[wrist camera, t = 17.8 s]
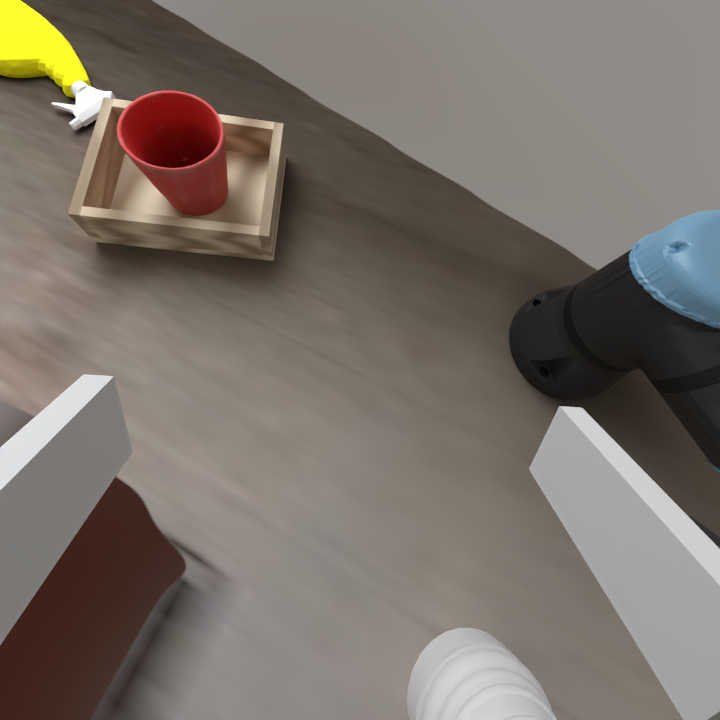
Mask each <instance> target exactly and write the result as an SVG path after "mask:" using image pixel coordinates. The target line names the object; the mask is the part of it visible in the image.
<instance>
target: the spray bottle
mask: <svg viewBox="0 0 720 720" xmlns="http://www.w3.org/2000/svg"><path fill="white" fill-rule="evenodd" d="M0 75H3V76H6V77H13V78H30V77H40V76H49V77H50V78H51V79H53V80H55V83H56V84H57V85H58V86H60V87H62V88H63V92H64V93H65V94H66V96H68V97H71V98H76V104H75V105H70V104H63V103H54V102H52V105H53V107H56V108H59V109H62V110H65V111H68V112H71V113H73V114H74V115H75V117H76V118H75V119H73V120H72V121H71V122H70V123H69V125H70V126H71V127H72V128H73V129H74V130H75V131H76V130H77V129H79V128H81V127H82V126H87V125H88V124H90V123H91V122H93V121H95V120H96V119H97V117H98V114H99V111H100V108H101V105H102V101H103V98H104V97H106V98H112V99H115V97H114V95H113V93H112V92H111V91H101V90H97V89H95V88H93V87H91V83H90V81H89V78H88V76H87V74H86V71H85V69H84V67H83V65H82V64H81V62H80V60H79V58H78V56H77V55H76V53H75V52H74V50H73V48H72V47H71V45H70V43H69V42H68V41H67V40H66V39H65V38H64V36H63V35H62V34H61V33H60V32H59V31H58V30H57V29H56V28H55V27H54V26H52V25H51V24H50V23H49V22H48V21H47V20H46V19H45V18H44V17H43V16H41V15H40V14H39V13H38V12H36V11H35V10H33V9H32V8H30V7H29V6H28V5H26V4H25V3H23V2H22V1H20V0H0Z"/></svg>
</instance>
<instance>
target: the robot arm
mask: <svg viewBox="0 0 720 720" xmlns="http://www.w3.org/2000/svg"><path fill="white" fill-rule="evenodd" d="M509 338H510V348H511V352H512V355H513V358H514V360H515V363H516V365H517V366H518V368H519V370H520V371H521V373H522V374H523V375H524V377H525V378H526V379H527V380H528V381H529V382H530V383H531V384H532V385H533V386H535V387H536V388H537V389H539V390H540V391H542V392H544V393H546V394H548V395H550V396H553V397H556V398H559V399H566V400H576V399H581V398H586V397H590V396H594V395H597V394H599V393H601V392H603V391H605V390H606V389H608V388H609V387H610V386H612V385H613V384H614V383H615V382H617V381H618V380H619V379H621V378H622V377H623V376H625V375H626V374H627V373H628V372H630V371H632V370H635V369H639V368H641V370H642V371H643V372H644V374H645V375H646V376H647V378H648V379H649V380H650V381H651V383H652V384H653V385H654V386H655V388H656V389H657V391H658V392H659V393H660V395H661V396H662V397H663V399H664V400H665V401H666V403H667V404H668V406H669V407H670V408H671V410H672V411H673V412H674V414H675V415H676V416H677V418H678V419H679V420H680V422H681V423H682V424H683V426H684V427H685V428H686V430H687V431H688V433H689V434H690V435H691V437H692V438H693V439H694V441H695V442H696V443H697V445H698V446H699V447H700V449H701V450H702V451H703V453H704V455H705V457H706V459H707V460H708V462H709V463H711V465H712V467H713V468H714V469H715V470H716V471H717V472H719V473H720V210H709V211H703V212H697V213H693V214H690V215H687V216H684V217H682V218H680V219H679V220H676V221H675V222H673V223H671V224H670V225H668V226H666V227H664V228H663V229H661V230H660V231H658V232H655V233H652V234H650V235H647V236H646V237H644V238H642V239H641V240H640V241H638V242H637V243H636V244H635V245H634V247H633V248H632V249H631V250H629V251H628V252H626V253H625V254H623V255H622V256H620V257H618V258H617V259H615V260H614V261H612V262H611V263H609V264H608V265H606V266H605V267H603V268H601V269H600V270H598V271H597V272H595V273H593V274H592V275H590V276H589V277H587V278H586V279H584V280H583V281H581V282H580V283H578V284H576V285H571V286H567V287H562V288H557V289H553V290H549V291H545V292H543V293H541V294H539V295H537V296H535V297H534V298H532V299H531V300H529V301H528V302H527V303H525V304H524V305H523V306H522V307H521V308H520V309H519V310H518V311H517V313H516V314H515V316H514V318H513V321H512V323H511V327H510V336H509ZM131 453H132V448H131V444H130V440H129V436H128V432H127V428H126V424H125V420H124V415H123V411H122V407H121V403H120V399H119V395H118V391H117V387H116V383H115V379H114V376H100V375H85V374H84V375H82V376H81V377H80V378H79V379H78V380H77V381H76V382H74V383H73V384H72V385H71V386H70V387H69V388H68V389H66V390H65V391H64V392H63V393H62V394H61V395H60V396H58V397H57V398H56V399H55V400H54V401H53V402H52V403H51V404H49V405H48V406H47V407H46V408H45V409H44V410H43V411H41V412H40V413H39V414H38V415H37V416H36V417H35V418H33V419H32V420H31V421H30V422H29V423H28V424H27V425H25V426H24V427H23V428H22V429H21V430H20V431H19V432H17V433H16V434H15V435H14V436H13V437H12V438H11V439H9V440H8V441H7V442H6V443H5V444H4V445H3V446H1V447H0V645H1V643H2V642H3V640H4V639H5V637H6V636H7V634H8V633H9V631H10V630H11V629H12V627H13V626H14V624H15V623H16V621H17V620H18V618H19V617H20V615H21V614H22V612H23V611H24V610H25V608H26V606H27V605H28V604H29V602H30V601H31V599H32V598H33V596H34V595H35V593H36V592H37V590H38V589H39V588H40V586H41V585H42V583H43V582H44V580H45V579H46V577H47V576H48V574H49V573H50V571H51V570H52V568H53V567H54V566H55V564H56V563H57V561H58V560H59V558H60V557H61V555H62V554H63V552H64V551H65V549H66V548H67V546H68V545H69V544H70V542H71V541H72V539H73V538H74V536H75V535H76V533H77V532H78V530H79V529H80V527H81V526H82V524H83V523H84V522H85V520H86V518H87V517H88V516H89V514H90V513H91V511H92V509H93V508H94V507H95V505H96V504H97V503H98V501H99V499H100V498H101V497H102V495H103V494H104V492H105V491H106V489H107V488H108V486H109V485H110V483H111V482H112V480H113V479H114V478H115V476H116V475H117V473H118V472H119V470H120V469H121V467H122V466H123V464H124V463H125V461H126V460H127V459H128V457H129V456H130V454H131ZM529 470H530V472H531V473H532V475H533V477H534V478H535V480H536V481H537V483H538V485H539V486H540V488H541V490H542V491H543V493H544V494H545V496H546V498H547V499H548V501H549V503H550V504H551V506H552V507H553V509H554V511H555V512H556V514H557V516H558V517H559V519H560V520H561V522H562V524H563V525H564V527H565V529H566V530H567V532H568V533H569V535H570V537H571V538H572V540H573V541H574V543H575V545H576V546H577V548H578V550H579V551H580V553H581V554H582V556H583V558H584V559H585V561H586V563H587V564H588V566H589V567H590V569H591V571H592V572H593V574H594V576H595V577H596V579H597V580H598V582H599V584H600V585H601V587H602V589H603V590H604V592H605V593H606V595H607V597H608V598H609V600H610V601H611V603H612V605H613V606H614V608H615V610H616V611H617V613H618V614H619V616H620V618H621V619H622V621H623V623H624V624H625V626H626V627H627V629H628V631H629V632H630V634H631V636H632V637H633V639H634V640H635V642H636V644H637V645H638V647H639V649H640V650H641V652H642V653H643V655H644V657H645V658H646V660H647V662H648V663H649V665H650V666H651V668H652V670H653V671H654V673H655V674H656V676H657V678H658V679H659V681H660V683H661V684H662V686H663V687H664V689H665V691H666V692H667V694H668V696H669V697H670V699H671V700H672V702H673V704H674V705H675V707H676V709H677V710H678V712H679V713H680V715H681V717H682V718H683V720H720V538H719V537H718V536H717V535H716V534H715V533H713V532H712V531H710V530H709V529H708V528H706V527H705V526H704V525H702V524H701V523H699V522H698V521H697V520H695V519H694V518H693V517H691V516H687V515H686V514H685V513H684V512H683V511H682V510H681V509H680V508H679V507H678V505H677V504H676V503H675V502H674V501H673V500H672V499H671V498H670V497H669V496H668V495H667V494H666V493H665V492H664V491H663V490H662V489H661V488H660V487H659V486H658V485H657V484H656V483H655V482H654V481H653V480H652V479H651V478H650V477H649V476H648V475H647V474H646V473H645V472H644V471H643V470H642V469H641V468H640V467H639V466H638V464H637V463H636V462H635V461H634V460H633V459H632V458H631V457H630V456H629V455H628V454H627V453H626V452H625V451H624V450H623V449H622V448H621V447H620V446H619V445H618V444H617V443H616V442H615V441H614V440H613V439H612V438H611V437H610V436H609V435H608V434H607V433H606V432H605V431H604V430H603V429H602V428H601V427H600V426H599V425H598V424H597V422H596V421H595V420H594V419H593V418H592V417H591V416H590V415H589V414H588V413H587V412H586V411H585V410H584V409H583V408H581V407H566V406H559V408H558V410H557V412H556V414H555V416H554V418H553V420H552V423H551V425H550V427H549V429H548V431H547V433H546V435H545V437H544V439H543V441H542V443H541V445H540V447H539V449H538V452H537V454H536V456H535V458H534V460H533V462H532V464H531V466H530V468H529Z"/></svg>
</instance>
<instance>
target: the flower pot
mask: <svg viewBox="0 0 720 720" xmlns="http://www.w3.org/2000/svg"><path fill="white" fill-rule="evenodd" d="M117 137H118V140H119V143H120V145H121V147H122V149H123V150H124V151H125V153H126V154H127V155H128V156H129V158H130V159H131V160H132V161H133V162H134V164H135V165H136V166H137V167H138V168H139V169H140V170H141V172H142V173H143V174H144V175H145V176H146V177H147V178H148V179H149V181H150V182H151V183H152V184H153V185H154V186H155V187H156V188H157V190H158V191H159V192H160V193H161V194H162V195H163V196H164V197H165V198H166V199H167V200H168V201H169V202H170V203H171V204H172V205H173V206H174V207H175V208H176V209H177V210H179V211H181V212H183V213H185V214H188V215H206V214H210V213H212V212H214V211H216V210H217V209H219V208H220V207H221V206H222V205H223V204H224V202H225V200H226V198H227V195H228V176H227V159H226V146H225V134H224V127H223V124H222V121H221V119H220V117H219V115H218V114H217V113H216V111H215V110H214V109H213V108H212V107H211V106H210V105H209V104H208V103H206V102H205V101H204V100H202V99H200V98H198V97H196V96H194V95H191V94H188V93H184V92H179V91H158V92H153V93H149V94H146V95H144V96H142V97H139V98H138V99H136V100H134V101H133V102H132V103H130V104H129V105H128V106H127V107H126V108H125V109H124V111H123V112H122V114H121V115H120V117H119V120H118V124H117Z"/></svg>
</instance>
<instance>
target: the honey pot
mask: <svg viewBox="0 0 720 720" xmlns="http://www.w3.org/2000/svg"><path fill="white" fill-rule="evenodd" d="M407 710H408V716H409V720H557V719H556V717H555V715H554V714H553V712H552V709H551V705H550V703H549V701H548V699H547V697H546V695H545V693H544V691H543V689H542V687H541V685H540V684H539V682H538V681H537V680H536V678H535V677H534V676H533V675H532V674H531V672H530V671H529V670H528V669H527V667H525V666H524V665H523V664H522V663H521V662H520V661H519V660H518V659H517V658H516V657H515V656H514V655H513V654H512V653H511V652H510V651H509V650H508V649H507V648H506V647H505V646H504V645H503V644H502V643H501V642H499V641H498V640H497V639H495V638H494V637H493V636H491V635H490V634H488V633H486V632H483V631H480V630H477V629H475V628H457V629H454V630H450V631H447V632H444V633H443V634H441V635H440V636H438V637H437V638H435V639H434V640H432V641H431V642H430V644H429V645H428V646H427V647H426V648H425V649H424V650H423V651H422V653H421V654H420V656H419V658H418V660H417V662H416V664H415V666H414V668H413V670H412V674H411V678H410V682H409V686H408V699H407Z"/></svg>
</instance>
